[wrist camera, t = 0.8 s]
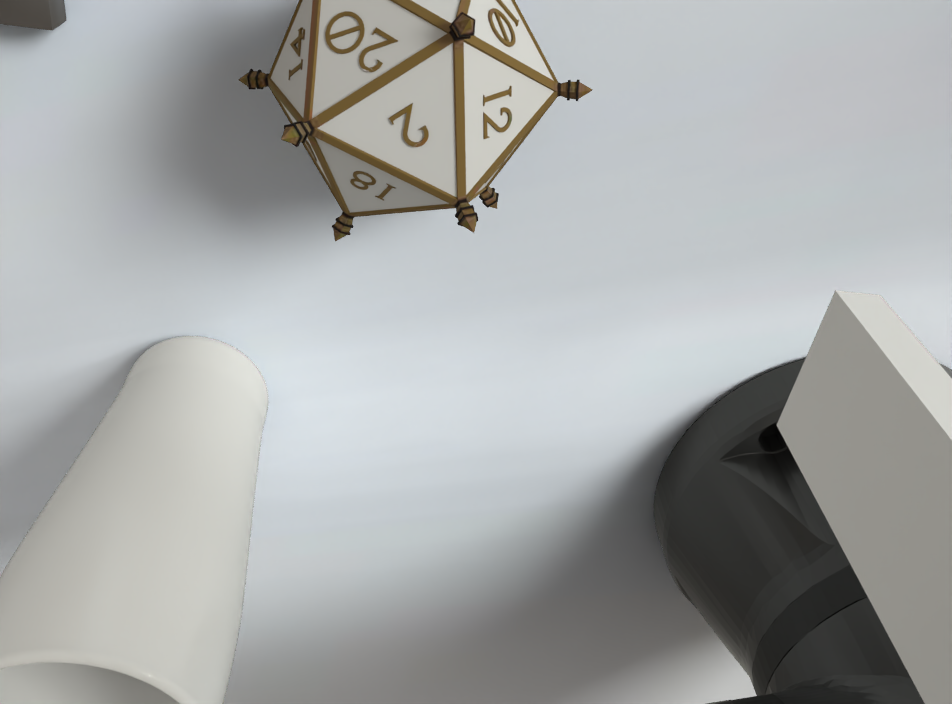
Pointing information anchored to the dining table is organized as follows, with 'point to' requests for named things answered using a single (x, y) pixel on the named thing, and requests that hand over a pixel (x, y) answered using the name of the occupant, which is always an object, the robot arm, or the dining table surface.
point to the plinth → (33, 13)
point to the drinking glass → (143, 542)
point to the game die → (410, 99)
